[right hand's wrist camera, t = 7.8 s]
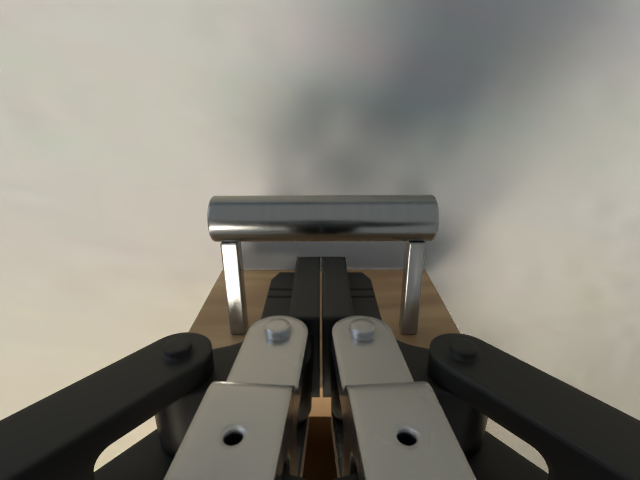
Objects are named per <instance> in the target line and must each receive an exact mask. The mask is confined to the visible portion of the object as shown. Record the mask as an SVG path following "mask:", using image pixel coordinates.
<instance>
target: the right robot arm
mask: <svg viewBox="0 0 640 480" xmlns="http://www.w3.org/2000/svg"><path fill="white" fill-rule="evenodd" d="M322 386H323V397H331V429H332V437H333V445H334V453H335V461H336V469H337V476H338V478H336V479H332V480H640V421H639V420H637V419H635V418H633V417H631V416H629V415H627V414H625V413H623V412H622V411H620V410H618V409H616V408H614V407H612V406H610V405H608V404H606V403H604V402H602V401H600V400H598V399H596V398H594V397H592V396H590V395H588V394H586V393H584V392H582V391H580V390H578V389H576V388H574V387H572V386H570V385H568V384H566V383H565V382H563V381H561V380H559V379H557V378H555V377H553V376H551V375H549V374H547V373H545V372H543V371H541V370H539V369H537V368H535V367H533V366H531V365H529V364H527V363H525V362H523V361H521V360H519V359H517V358H515V357H513V356H511V355H510V354H508V353H506V352H504V351H502V350H500V349H498V348H496V347H494V346H492V345H490V344H488V343H486V342H484V341H482V340H480V339H478V338H475V337H472V336H469V335H465V334H458V333H448V334H442V335H439V336H437V337H435V338H434V339H433V340H432V341H431V343H430V347H429V349H427V348H423V347H418V346H413V345H409V344H406V343H403V342H401V341H399V340H397V339H395V336H394V334H393V332H392V330H391V328H390V327H389V326H388V325H387V324H386V323H385V322H383V321H382V319H381V315H380V311H379V308H378V304H377V300H376V298H375V293H374V290H373V286H372V282H371V279H370V278H368V277H367V276H366V275H365V274H364V273H363V272H347V267H346V260H345V257H322ZM312 397H320V257H297V260H296V268H295V272H280V273H278V274H277V275H276V276H275V277H274V278H273V279H271V282H270V286H269V290H268V294H267V298H266V302H265V305H264V309H263V313H262V317H261V320H259V321H257V322H255V323H254V324H253V325H252V326H251V327H250V328H249V330H248V332H247V334H246V336H245V339H244V341H242V342H240V343H237V344H234V345H230V346H226V347H221V348H216V349H212V343H211V341H210V340H209V339H208V338H207V337H206V336H204V335H202V334H198V333H189V332H187V333H178V334H173V335H170V336H167V337H164V338H162V339H160V340H158V341H156V342H154V343H152V344H150V345H148V346H146V347H144V348H142V349H140V350H138V351H136V352H134V353H132V354H131V355H129V356H127V357H125V358H123V359H121V360H119V361H117V362H115V363H113V364H111V365H109V366H107V367H105V368H103V369H101V370H99V371H97V372H95V373H93V374H91V375H89V376H87V377H85V378H83V379H81V380H79V381H77V382H75V383H74V384H72V385H70V386H68V387H66V388H64V389H62V390H60V391H58V392H56V393H54V394H52V395H50V396H48V397H46V398H44V399H42V400H40V401H38V402H36V403H34V404H32V405H30V406H28V407H26V408H24V409H22V410H20V411H19V412H17V413H15V414H13V415H11V416H9V417H7V418H5V419H3V420H1V421H0V480H308V479H304V478H302V476H303V469H304V461H305V453H306V445H307V437H308V429H309V414H310V412H311V407H312ZM154 415H155V419H156V424H157V429H156V430H155V431H153V432H152V433H150V434H149V435H147V436H146V437H145V438H143V439H142V440H140V441H139V442H137V443H136V444H134V445H133V446H132V447H130V448H129V449H127V450H126V451H124V452H123V453H121V454H120V455H118V456H117V457H116V458H114V459H113V460H111V461H110V462H108V463H107V464H105V465H104V466H102V467H101V468H100V469H98V470H97V471H95V472H94V465H95V463H96V460H97V459H98V457H99V455H100V454H101V453H102V452H103V451H104V449H106V448H107V447H108V446H109V445H110V444H112V443H113V442H115V441H116V440H118V439H119V438H121V437H122V436H124V435H126V434H127V433H129V432H130V431H132V430H133V429H135V428H136V427H138V426H139V425H141V424H142V423H144V422H145V421H147V420H148V419H150V418H151V417H153V416H154ZM488 417H489V418H490V419H492V420H493V421H495V422H496V423H498V424H499V425H501V426H502V427H504V428H505V429H507V430H508V431H510V432H511V433H513V434H515V435H516V436H518V437H519V438H521V439H522V440H524V441H525V442H527V443H528V444H530V445H531V446H533V447H534V448H535V449H536V450H537V451H538V452H539V453H540V454H541V455H542V457H543V458H544V459H545V461H546V463H547V466H548V469H549V474H548V473H546V472H545V471H543V470H542V469H540V468H539V467H538V466H536V465H535V464H533V463H532V462H530V461H529V460H527V459H526V458H524V457H523V456H522V455H520V454H519V453H517V452H516V451H514V450H513V449H511V448H510V447H508V446H507V445H506V444H504V443H503V442H501V441H500V440H498V439H497V438H495V437H494V436H493V435H491V434H490V433H488V432H487V431H485V429H486V424H487V419H488Z"/></svg>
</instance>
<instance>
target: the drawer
mask: <svg viewBox="0 0 640 480" xmlns="http://www.w3.org/2000/svg"><path fill="white" fill-rule="evenodd" d="M438 224H439V210H438V204H437V200H436V198H435V196H433V195H313V196H213V197H212V198H211V200H210V202H209V206H208V229H209V233H210V236H211V238H212V240H213V241H215V242H221V253H222V262H223V270H222V272H221V274H220V276H219V278H218V279H217V281H216V283H215V285H214V287H213V288H212V290H211V292H210V294H209V296H208V298H207V299H206V301H205V303H204V305H203V307H202V309H201V310H200V312H199V314H198V316H197V318H196V320H195V321H194V323H193V325H192V327H191V329H190V331H189V333H198V334H202V335H204V336H206V337H207V338H208V339H209V340H210V341H211V343H212V349H216V348H221V347H226V346H230V345H234V344H237V343H240V342H242V341H244V339H245V336H246V334H247V332H248V330H249V328H250V327H251V326H252V325H253V324H254V323H255V322H257V321H259V320H261V317H262V313H263V309H264V305H265V302H266V298H267V294H268V290H269V286H270V282H271V279H273V278H274V277H275V276H276V275H277V274H278V273H280V272H295V270H243V260H242V249H241V241H406V242H405V255H404V267H403V270H347V272H363V273H364V274H365V275H366V276H367V277H368V278H370V279H371V282H372V286H373V290H374V293H375V298H376V300H377V304H378V308H379V311H380V315H381V319H382V321H383V322H385V323H386V324H387V325H388V326H389V327H390V328H391V330H392V332H393V334H394V336H395V339H397V340H399V341H401V342H403V343H406V344H409V345H413V346H418V347H423V348H427V349H429V347H430V343H431V341H432V340H433V339H434V338H435V337H437V336H439V335H442V334H448V333H458V334H460V332H459V330H458V328H457V327H456V325H455V323H454V321H453V319H452V317H451V316H450V314H449V312H448V310H447V308H446V307H445V305H444V303H443V301H442V299H441V298H440V296H439V294H438V292H437V290H436V288H435V287H434V285H433V283H432V281H431V279H430V278H429V276H428V274H427V272H426V270H423V269H424V259H425V249H426V242H425V241H432V240H434V238H435V237H436V234H437V230H438ZM302 478H304V479H308V480H332V479H336V478H338V476H337V469H336V461H335V453H334V445H333V437H332V429H331V397H323V386H322V270H320V397H312V407H311V412H310V414H309V429H308V437H307V445H306V453H305V461H304V469H303V476H302Z"/></svg>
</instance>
